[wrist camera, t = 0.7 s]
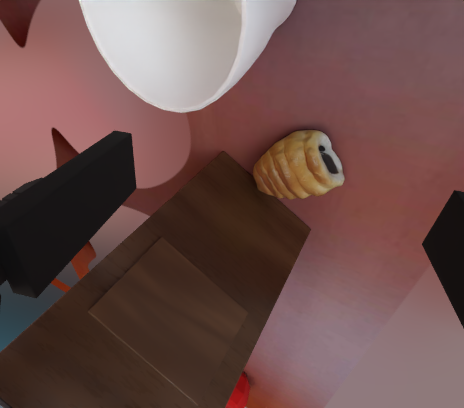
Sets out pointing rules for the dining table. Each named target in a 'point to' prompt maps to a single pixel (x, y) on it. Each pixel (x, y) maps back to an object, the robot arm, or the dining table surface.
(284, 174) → the pastry
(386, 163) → the dining table surface
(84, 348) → the stove stand
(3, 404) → the hob plate
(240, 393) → the apple
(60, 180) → the robot arm
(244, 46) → the cup
